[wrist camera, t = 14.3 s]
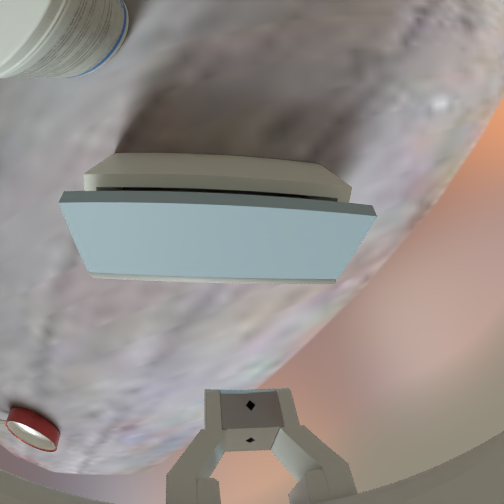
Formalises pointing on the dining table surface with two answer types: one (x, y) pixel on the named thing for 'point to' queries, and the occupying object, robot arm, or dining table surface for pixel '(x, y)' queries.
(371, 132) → the dining table surface
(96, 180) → the beige open box
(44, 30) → the supplement tub
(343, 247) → the cover
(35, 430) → the frying pan
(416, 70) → the dining table surface
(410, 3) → the dining table surface
